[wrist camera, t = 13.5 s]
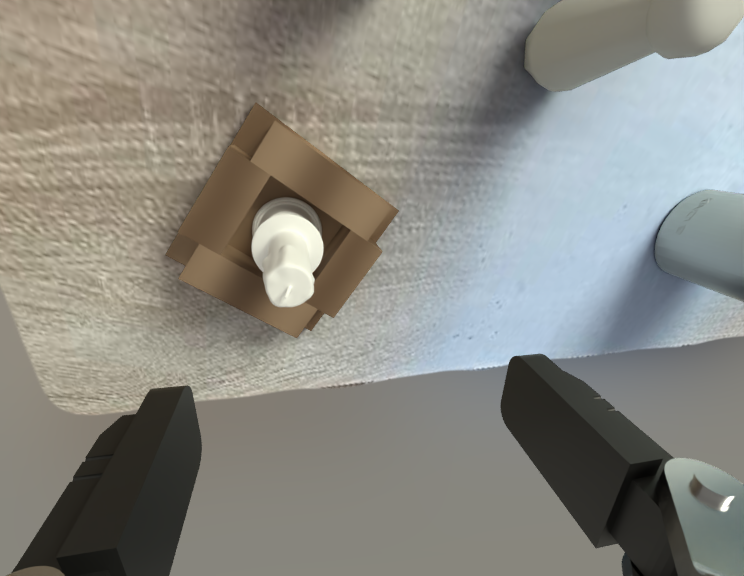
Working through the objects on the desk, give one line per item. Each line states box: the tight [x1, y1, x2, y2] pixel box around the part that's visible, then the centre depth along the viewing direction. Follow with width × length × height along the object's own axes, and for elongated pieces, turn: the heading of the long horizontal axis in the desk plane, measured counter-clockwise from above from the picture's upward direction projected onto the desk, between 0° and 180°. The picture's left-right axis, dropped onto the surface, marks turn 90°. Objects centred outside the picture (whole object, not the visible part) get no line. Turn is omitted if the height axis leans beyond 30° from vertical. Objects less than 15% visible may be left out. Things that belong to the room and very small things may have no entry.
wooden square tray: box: [165, 103, 398, 338], centre depth 28 cm, size 13×13×4 cm
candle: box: [251, 197, 323, 307], centre depth 23 cm, size 5×5×12 cm
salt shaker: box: [524, 0, 744, 92], centre depth 23 cm, size 6×6×13 cm
